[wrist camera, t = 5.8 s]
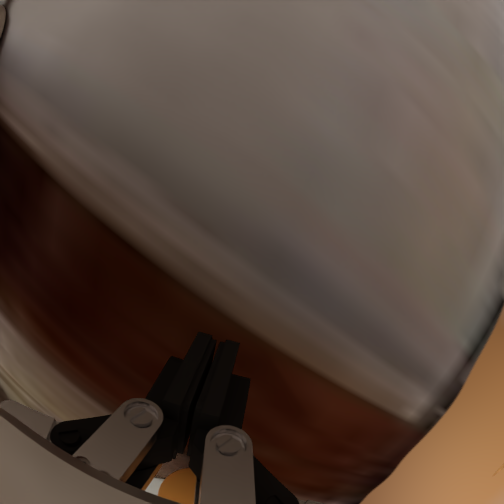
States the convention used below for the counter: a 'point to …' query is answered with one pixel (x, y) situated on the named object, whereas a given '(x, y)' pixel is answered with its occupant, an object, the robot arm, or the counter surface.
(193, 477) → the ball
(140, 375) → the counter surface
